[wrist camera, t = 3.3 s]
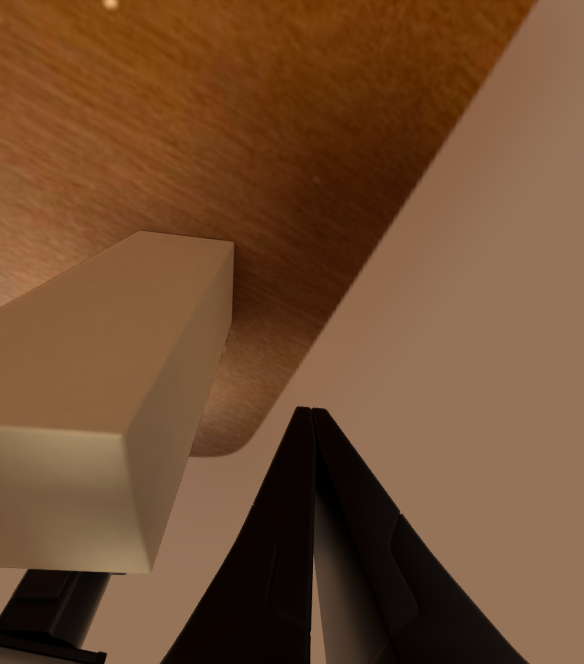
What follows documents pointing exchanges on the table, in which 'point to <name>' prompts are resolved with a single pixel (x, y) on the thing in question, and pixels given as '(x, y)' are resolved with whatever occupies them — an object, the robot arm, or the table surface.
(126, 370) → the cream block
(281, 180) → the table surface
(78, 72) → the table surface
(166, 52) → the table surface
